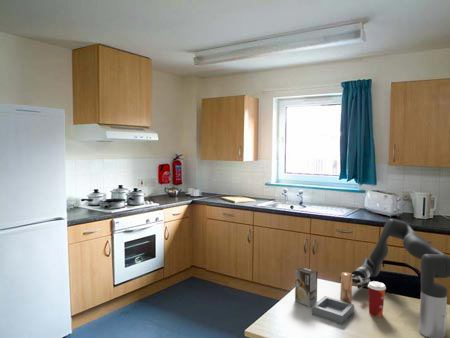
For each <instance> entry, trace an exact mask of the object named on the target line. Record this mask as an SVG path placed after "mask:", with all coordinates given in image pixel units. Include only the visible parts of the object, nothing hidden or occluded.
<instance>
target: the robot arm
mask: <svg viewBox="0 0 450 338" xmlns="http://www.w3.org/2000/svg"><path fill="white" fill-rule="evenodd" d="M389 237H392V238H395V239H399V240H402V246H403V247H404V249H405V250H406V251H407V253H408V254H410V255H411V256H412V257H414V258H416V259H419V260H420V301H419V323H418V332H419V334H421V335H422V336H424V337H426V338H445V337H446V333H447V316H448V313H447V304H448V303H447V301H448V289H447V288H446V286H444V285H443V284H440V283H437V282H435V279H436V278H438V279H447V278H450V256H448V255H447V254H446V253H444V252H442V251H441V250H439V249H437V248H436V247H434V245H432V244H430V243H429V242H428V241H427V240H426V239H425V238H424V237H423V236H421V235H420V234H418V233H417V232H416V231H415V229H414V230H413V228H412V226H410V224H409V223H407V222H405V221H402V220H398V219H395V218H389V219H387V220H386V222H385V224H384V226H383V229H382V231H381V233H380V236H379V238H378V241H377V243H376V246H375V247H374V248H373V251H372V252H371V253H370V254H369V258H368V257H367V258H363V259H362V261H361V262H360V266H359V267H357V268H356V269H354V270H353V271H352V272H350V273H351V274H352V284H353V283H354V284H356V285H357V289H361V288H369V287H368V284H369V282H371V279H370V277H377V276H378V275H379V274H380V272H381V268H382V264H383V261H384V260H385V259H386V257H387V256H388V253H389V246H388V239H389ZM339 281H340V282H339V283H340V284H341V274H340V275H339Z"/></svg>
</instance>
